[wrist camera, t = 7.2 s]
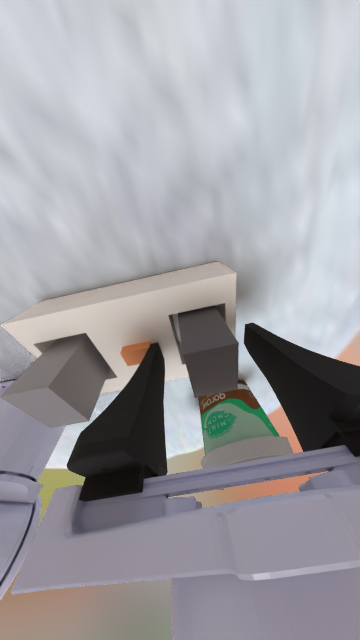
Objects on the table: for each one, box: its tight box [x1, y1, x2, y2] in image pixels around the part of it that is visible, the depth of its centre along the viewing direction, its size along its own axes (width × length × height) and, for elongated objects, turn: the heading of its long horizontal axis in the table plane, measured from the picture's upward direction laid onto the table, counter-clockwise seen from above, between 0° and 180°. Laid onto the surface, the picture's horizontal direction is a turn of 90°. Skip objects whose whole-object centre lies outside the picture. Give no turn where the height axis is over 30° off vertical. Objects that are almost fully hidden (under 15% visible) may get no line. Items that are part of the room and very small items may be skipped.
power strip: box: [1, 261, 236, 394], centre depth 14 cm, size 17×10×5 cm, turn 101°
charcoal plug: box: [0, 333, 110, 428], centre depth 12 cm, size 3×4×7 cm
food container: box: [199, 380, 294, 490], centre depth 20 cm, size 12×6×10 cm, turn 147°
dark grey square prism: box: [177, 305, 239, 398], centre depth 12 cm, size 3×4×7 cm
